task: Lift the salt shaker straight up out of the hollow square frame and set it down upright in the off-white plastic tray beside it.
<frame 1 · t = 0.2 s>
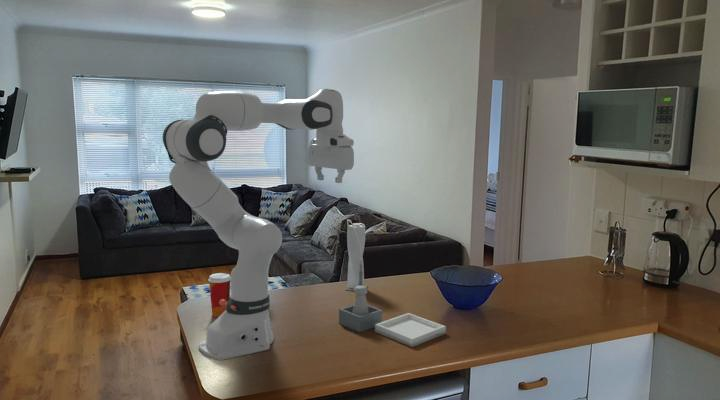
hand: (329, 181, 183), 47 cm above the worktop, tool pointing down, fingers open, 8 cm apart
hollow square frame: (360, 323, 184), on the worktop
paper cup: (220, 315, 191), on the worktop
beer glass: (257, 303, 203), on the worktop
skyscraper: (355, 288, 223), on the worktop
tray: (410, 332, 177), on the worktop
salt shaker: (360, 324, 184), resting in hollow square frame
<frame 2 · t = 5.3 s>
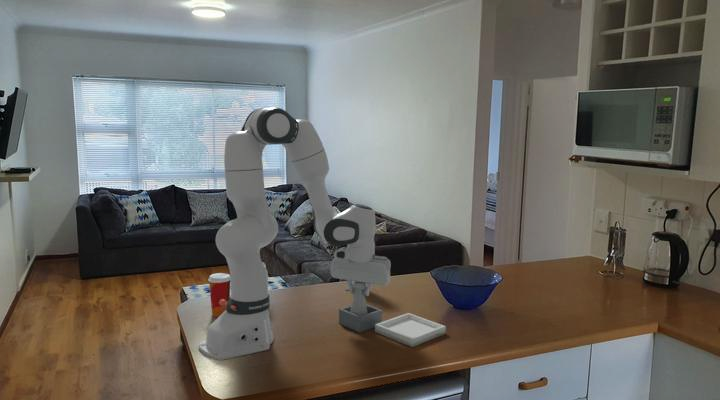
hand: (359, 294, 182), 10 cm above the worktop, tool pointing down, fingers closed on salt shaker, 3 cm apart
salt shaker: (358, 319, 184), point 1 cm above the worktop, touching gripper
everything else where it was.
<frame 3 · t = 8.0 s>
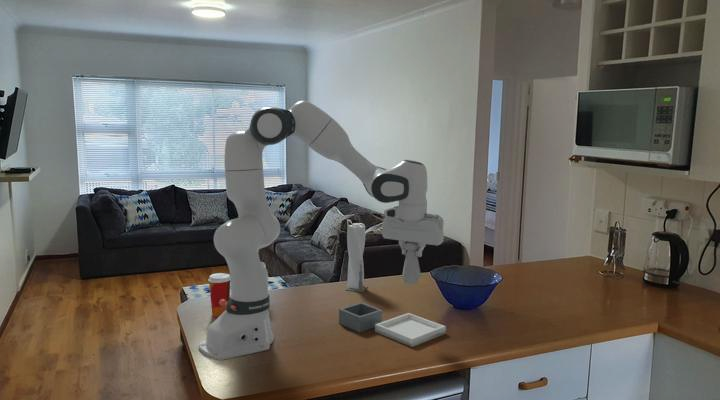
hand: (411, 255, 174), 26 cm above the worktop, tool pointing down, fingers closed on salt shaker, 3 cm apart
salt shaker: (411, 282, 175), point 17 cm above the worktop, touching gripper
everything else where it was.
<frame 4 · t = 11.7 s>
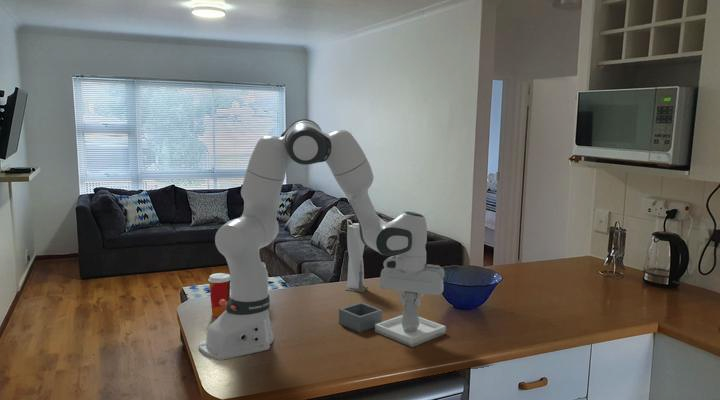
hand: (410, 304, 176), 9 cm above the worktop, tool pointing down, fingers closed on salt shaker, 3 cm apart
salt shaker: (410, 330, 177), point 1 cm above the worktop, touching gripper, tray
everything else where it was.
when the fingers open (9 cm above the worktop, at t = 11.7 s): salt shaker stays where it is, resting on tray.
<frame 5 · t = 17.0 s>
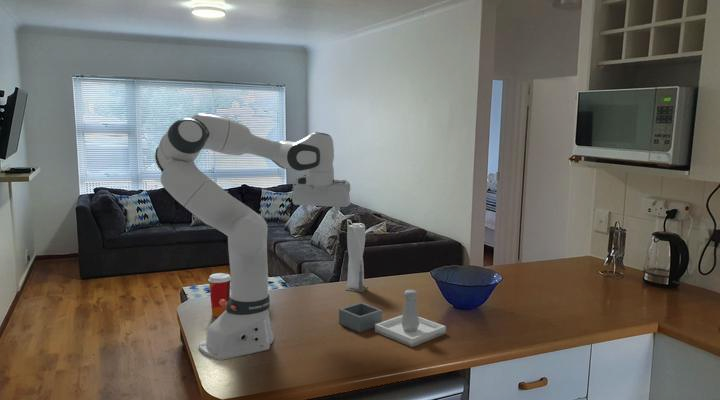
hand: (321, 218, 193), 33 cm above the worktop, tool pointing down, fingers open, 8 cm apart
salt shaker: (410, 330, 177), point 1 cm above the worktop, touching tray
everything else where it was.
at the end: salt shaker inside the target area on the tray (0.1 cm from its centre), point 0.8 cm above the tray's base; salt shaker tilted 0°; the gripper is holding nothing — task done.
